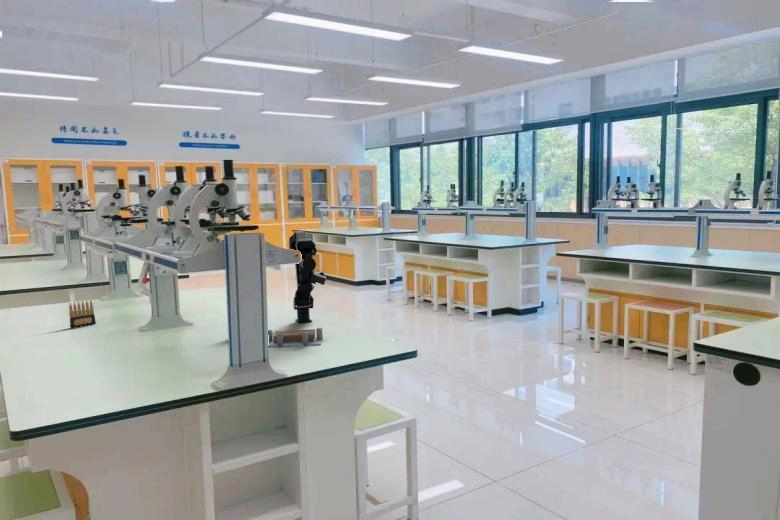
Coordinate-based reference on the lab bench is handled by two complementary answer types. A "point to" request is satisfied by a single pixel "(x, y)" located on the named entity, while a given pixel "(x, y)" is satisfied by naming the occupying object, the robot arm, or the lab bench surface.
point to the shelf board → (295, 335)
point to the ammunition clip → (81, 315)
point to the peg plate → (304, 342)
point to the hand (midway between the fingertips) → (307, 303)
